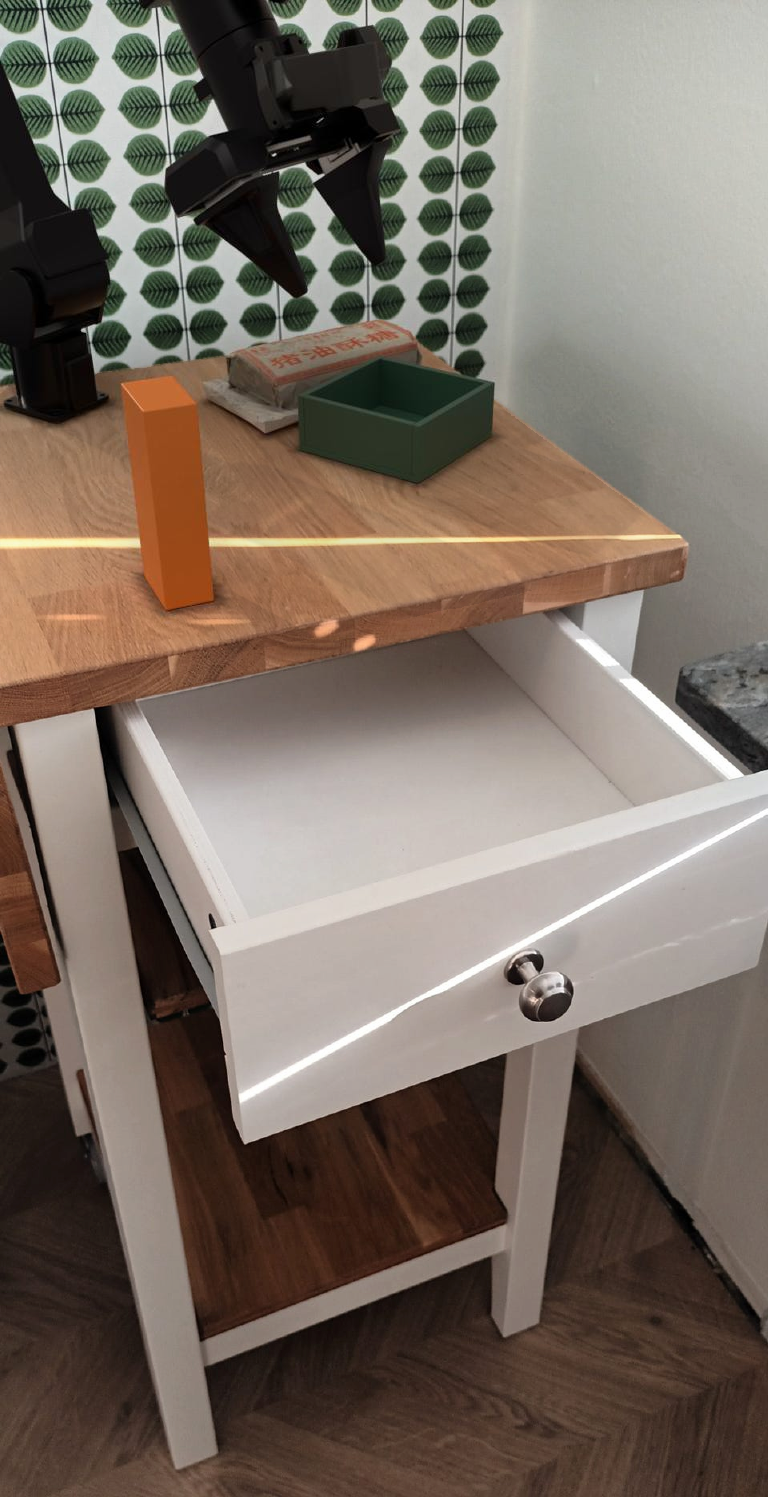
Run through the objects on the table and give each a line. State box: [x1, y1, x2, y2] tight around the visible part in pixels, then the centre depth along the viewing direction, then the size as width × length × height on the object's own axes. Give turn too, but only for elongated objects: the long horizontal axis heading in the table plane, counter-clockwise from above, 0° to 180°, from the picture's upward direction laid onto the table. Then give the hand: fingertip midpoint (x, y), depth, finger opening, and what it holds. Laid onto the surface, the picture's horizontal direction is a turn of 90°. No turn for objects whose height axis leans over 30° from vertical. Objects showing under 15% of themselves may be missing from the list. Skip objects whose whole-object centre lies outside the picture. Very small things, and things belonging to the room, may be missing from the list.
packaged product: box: [202, 319, 423, 434], centre depth 107 cm, size 18×5×10 cm
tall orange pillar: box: [120, 375, 215, 611], centre depth 77 cm, size 5×3×13 cm, turn 24°
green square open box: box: [297, 356, 496, 484], centre depth 99 cm, size 11×11×4 cm
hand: (342, 279), depth 84 cm, fingers open, 9 cm apart
